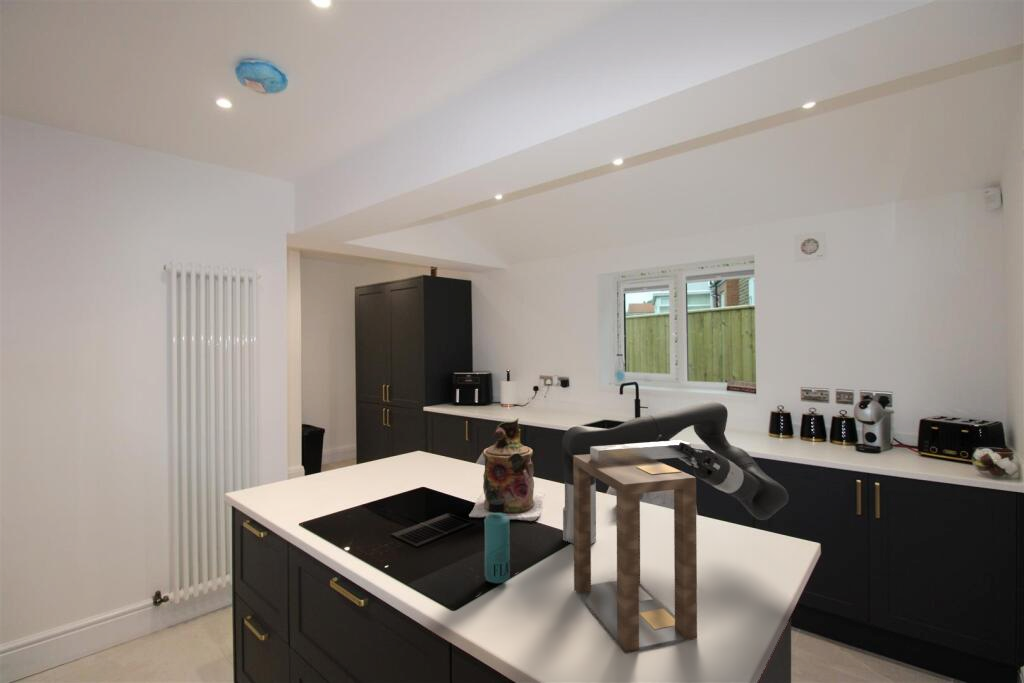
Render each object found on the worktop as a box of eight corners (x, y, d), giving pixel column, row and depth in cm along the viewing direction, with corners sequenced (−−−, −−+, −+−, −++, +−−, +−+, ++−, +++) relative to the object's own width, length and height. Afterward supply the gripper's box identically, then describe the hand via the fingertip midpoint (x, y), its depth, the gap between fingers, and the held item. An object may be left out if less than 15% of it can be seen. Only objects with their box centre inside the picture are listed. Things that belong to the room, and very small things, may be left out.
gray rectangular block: (680, 452, 115) (680, 440, 115) (690, 456, 111) (690, 443, 111) (590, 459, 108) (590, 446, 108) (598, 464, 105) (598, 450, 105)
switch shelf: (633, 580, 117) (633, 450, 117) (697, 638, 94) (696, 476, 94) (574, 589, 113) (573, 454, 113) (625, 653, 89) (624, 483, 90)
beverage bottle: (491, 592, 112) (490, 507, 112) (479, 579, 117) (479, 499, 117) (515, 585, 115) (515, 503, 115) (503, 573, 120) (502, 495, 120)
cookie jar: (481, 495, 182) (481, 412, 182) (545, 498, 179) (545, 414, 179) (467, 519, 158) (466, 423, 158) (540, 523, 154) (540, 425, 154)
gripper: (705, 451, 123) (657, 423, 119) (746, 465, 109) (694, 433, 105) (693, 477, 122) (644, 450, 118) (733, 494, 108) (680, 464, 104)
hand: (668, 442), depth 112 cm, fingers open, 8 cm apart
